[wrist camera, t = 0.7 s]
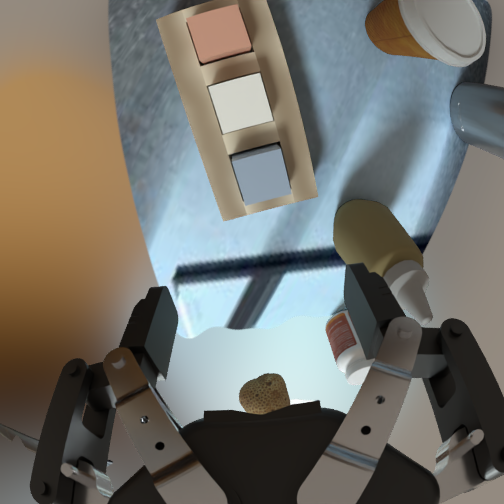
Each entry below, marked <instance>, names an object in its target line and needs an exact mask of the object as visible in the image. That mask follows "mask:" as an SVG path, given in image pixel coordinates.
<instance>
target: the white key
mask: <svg viewBox="0 0 504 504" xmlns="http://www.w3.org/2000/svg"><path fill="white" fill-rule="evenodd" d="M208 88H209V91H210V94H211V98H212V101H213V104H214V107H215V110H216V113H217V116H218V120H219V123H220V126H221V129H222V132H223V134H225V133H228V132H232V131H235V130H239V129H242V128H246V127H250V126H254V125H257V124H261V123H265V122H269V121H273V117H272V114H271V110H270V106H269V103H268V99H267V96H266V92H265V89H264V85H263V82H262V79H261V75H260V73H257V74H253V75H249V76H245V77H241V78H237V79H234V80H230V81H227V82H223V83H220V84H216V85H213V86H210V87H208Z"/></svg>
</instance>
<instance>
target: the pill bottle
mask: <svg viewBox="0 0 504 504" xmlns="http://www.w3.org/2000/svg"><path fill="white" fill-rule="evenodd" d="M326 333H327V336H328V339H329V342H330V345H331V348H332V351H333V355H334V358H335V361H336V364H337V366H338V368H339V370H340V371H341V372H343V373H345V376H346V379H347V382H348V383H349V384H351V385H359V384H363V382H364V380H365V378H366V376H367V374H368V371H369V369H370V367H371V365H372V363H373V362H374V361H375V358H374V359H370V360H366V357H365V354H364V352H363V349H362V346H361V343H360V341H359V338H358V335H357V333H356V330H355V328H354V325H353V322H352V320H351V317H350V315H349V312H348V310H344V311H340V312H338V313H336V314H334V315H333V316H332V317H331V318H330V319H329V320H328V321H327V323H326Z"/></svg>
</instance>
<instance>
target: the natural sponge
mask: <svg viewBox="0 0 504 504" xmlns="http://www.w3.org/2000/svg"><path fill="white" fill-rule="evenodd" d="M239 400H240V403H241V405H242V406H243V408H244V409H245V411H246V412H247V413H253V414H265V413H269V412H272V411H275V410H278V409H280V408H283V407H286V406H289V405H290V399H289V395H288V392H287V388H286V384H285V381H284V379H283V378H282V377H281V376H280V375H279V374H274V373H273V374H269V373H267V374H264V375H261V376H259V377H258V378H257V379H253V380H250V381H248V382H247V383H246V384H244V385H243V387H242V388H241V390H240V393H239Z"/></svg>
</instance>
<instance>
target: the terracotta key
mask: <svg viewBox="0 0 504 504" xmlns="http://www.w3.org/2000/svg"><path fill="white" fill-rule="evenodd" d="M186 20H187V23H188V26H189V29H190V32H191V35H192V38H193V42H194V45H195V48H196V51H197V54H198V57H199V60H200V61H201V62H202V63H203V64H204V65H205V64H208V63H211V62H214V61H218V60H221V59H225V58H228V57H232V56H236V55H240V54H244V53H248V52H250V49H251V43H250V40H249V37H248V34H247V31H246V28H245V25H244V22H243V19H242V16H241V13H240V10H239V7H238V5H237V4H235V5H231V6H227V7H223V8H219V9H215V10H211V11H208V12H204V13H201V14H198V15H195V16H192V17H189V18H186Z"/></svg>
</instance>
